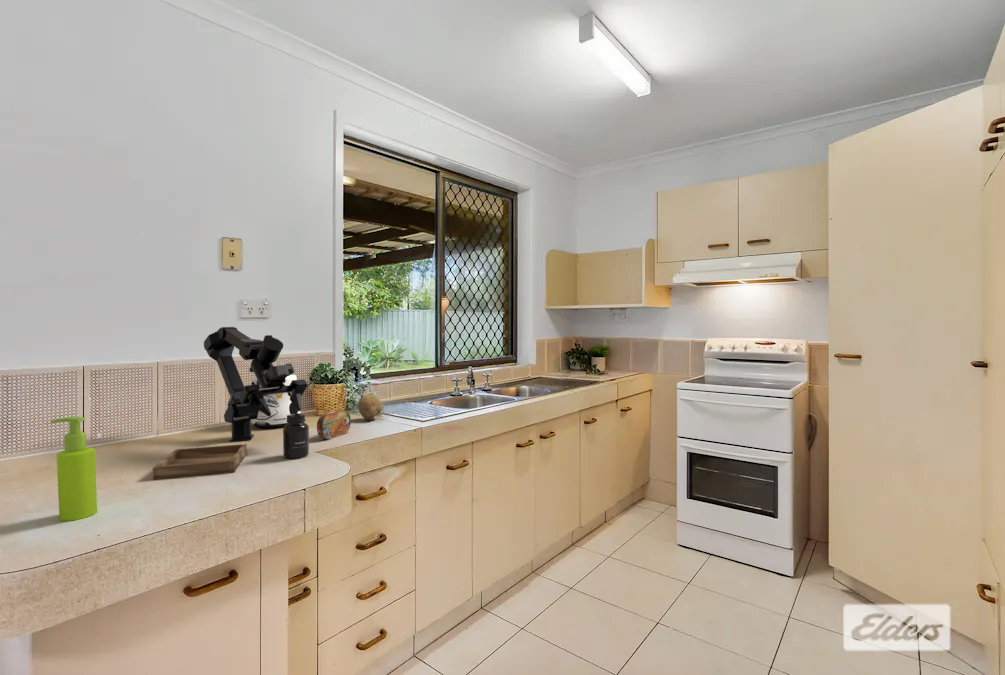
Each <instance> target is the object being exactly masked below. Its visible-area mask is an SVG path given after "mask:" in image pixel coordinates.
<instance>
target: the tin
mask: <svg viewBox="0 0 1005 675" xmlns="http://www.w3.org/2000/svg"><path fill="white" fill-rule="evenodd" d="M351 422H352V420H351V416H350V413H349V412H348V411H347V410H346V409H337V410H333V411H330V412H327V413H324V414H322V415H320V416H319V417H318V420H317V422H316V432H317V435H318V437H319V438H320V439H322V440H333V439H335V438H337V436H338V437H341V436H342V435H343V436H344V435H346V434H347V433H348V432H349V430H350V428H351ZM340 435H341V436H340ZM334 437H335V438H334ZM332 438H333V439H332Z"/></svg>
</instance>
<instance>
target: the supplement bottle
mask: <svg viewBox="0 0 1005 675" xmlns="http://www.w3.org/2000/svg"><path fill="white" fill-rule="evenodd" d="M305 421H306V414H304V413H300V414H289V415H287V422H288V424H286V425H285V426H283V429H282V438H283V439H282V443H283V444H282V445H283V446H282V451H283V452H282V456H283V458H284V459H287V458H288V459H287V460H297V459H296V458H298V459H303V458H306V457H308V456H309V453H310V443H309V442H310V440H309V439H310V438H309V437H310V434H309V433H310V432H309V430H310V429H309V428H310V427H309V425H308V424H307V422H305ZM307 455H308V456H307ZM305 456H306V457H305ZM302 457H303V458H302Z"/></svg>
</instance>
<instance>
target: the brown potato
mask: <svg viewBox="0 0 1005 675" xmlns="http://www.w3.org/2000/svg"><path fill="white" fill-rule="evenodd" d="M357 409H358V412H359V414H360V415H361V417H362V418H364V420H366V421H372V420H373V419H374V418H375V417H376V416H378V415H379V414H381V412H382V411H383V404H382V402H381V400H380V398H379V397H377V396H376V395H374V394H370V393H369V394H366V395H363V396H362V397H361V398H360V399H359V400H358V403H357Z"/></svg>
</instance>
